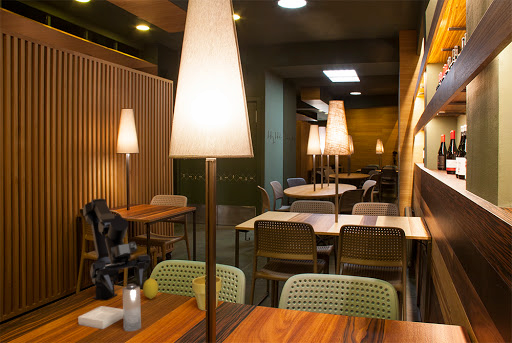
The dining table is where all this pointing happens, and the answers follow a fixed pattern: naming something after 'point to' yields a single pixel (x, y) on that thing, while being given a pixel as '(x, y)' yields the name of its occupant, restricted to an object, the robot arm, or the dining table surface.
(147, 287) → the lemon
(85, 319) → the serving tray
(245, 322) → the dining table surface
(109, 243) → the robot arm
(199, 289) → the plant pot
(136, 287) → the metal water bottle
